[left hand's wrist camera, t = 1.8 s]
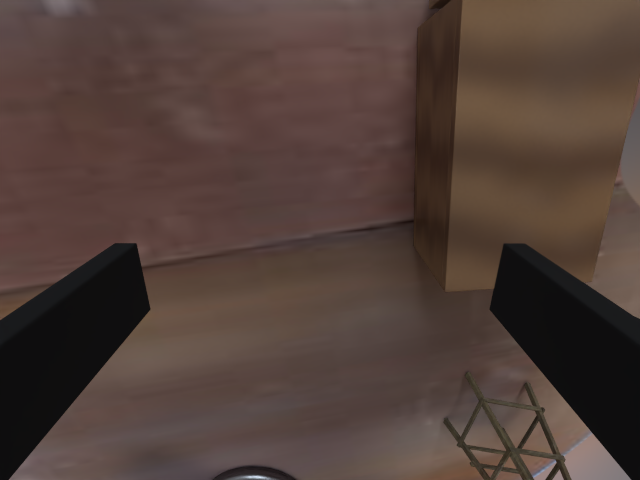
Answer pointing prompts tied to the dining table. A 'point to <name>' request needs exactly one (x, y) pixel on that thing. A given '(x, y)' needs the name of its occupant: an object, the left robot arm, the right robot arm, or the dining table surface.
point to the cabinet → (520, 131)
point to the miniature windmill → (506, 440)
